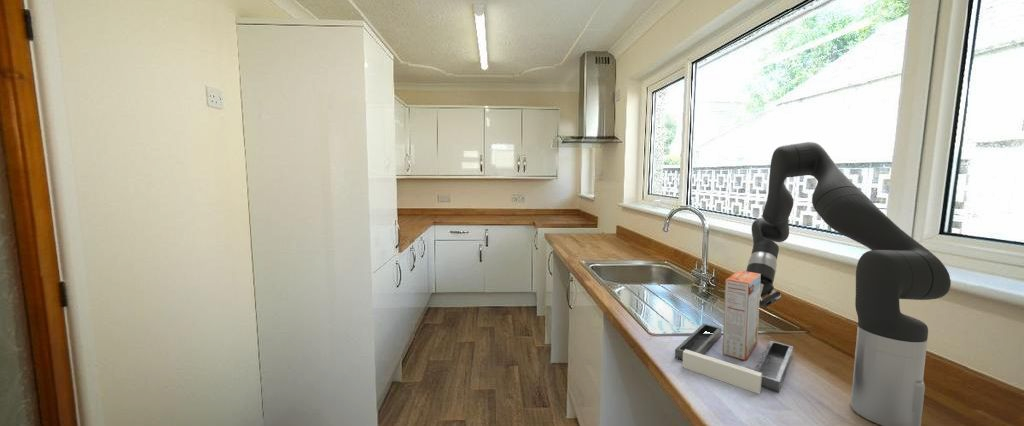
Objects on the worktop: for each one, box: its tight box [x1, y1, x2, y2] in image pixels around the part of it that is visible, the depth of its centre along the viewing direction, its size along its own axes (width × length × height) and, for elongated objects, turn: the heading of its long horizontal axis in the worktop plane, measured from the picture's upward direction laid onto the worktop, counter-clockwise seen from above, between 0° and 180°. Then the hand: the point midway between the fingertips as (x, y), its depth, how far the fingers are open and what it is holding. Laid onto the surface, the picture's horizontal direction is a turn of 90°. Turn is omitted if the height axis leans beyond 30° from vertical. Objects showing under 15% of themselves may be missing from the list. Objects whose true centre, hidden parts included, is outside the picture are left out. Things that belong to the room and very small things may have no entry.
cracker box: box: [722, 270, 761, 362], centre depth 97 cm, size 14×6×21 cm, turn 135°
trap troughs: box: [674, 323, 794, 393], centre depth 93 cm, size 22×24×2 cm
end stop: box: [681, 349, 762, 395], centre depth 83 cm, size 16×2×4 cm, turn 46°
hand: (750, 315), depth 106 cm, fingers closed
